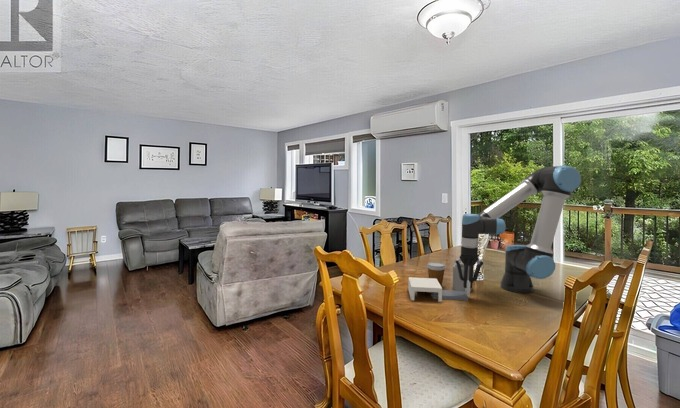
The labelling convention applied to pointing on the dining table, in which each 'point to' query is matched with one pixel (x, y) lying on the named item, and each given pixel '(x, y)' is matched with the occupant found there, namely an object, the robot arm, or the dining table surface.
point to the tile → (451, 295)
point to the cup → (456, 279)
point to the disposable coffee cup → (436, 271)
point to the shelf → (424, 286)
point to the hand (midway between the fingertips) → (467, 294)
